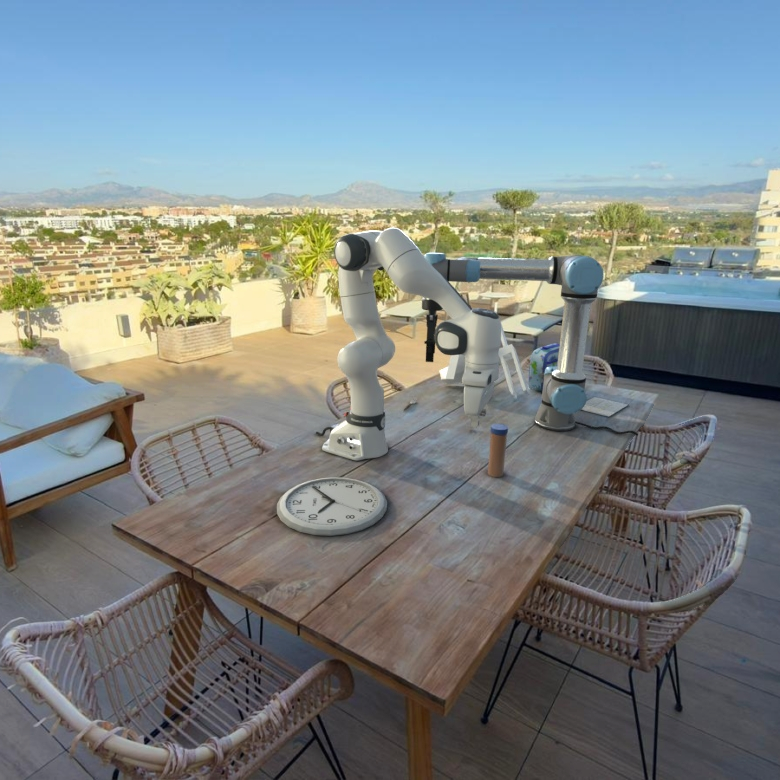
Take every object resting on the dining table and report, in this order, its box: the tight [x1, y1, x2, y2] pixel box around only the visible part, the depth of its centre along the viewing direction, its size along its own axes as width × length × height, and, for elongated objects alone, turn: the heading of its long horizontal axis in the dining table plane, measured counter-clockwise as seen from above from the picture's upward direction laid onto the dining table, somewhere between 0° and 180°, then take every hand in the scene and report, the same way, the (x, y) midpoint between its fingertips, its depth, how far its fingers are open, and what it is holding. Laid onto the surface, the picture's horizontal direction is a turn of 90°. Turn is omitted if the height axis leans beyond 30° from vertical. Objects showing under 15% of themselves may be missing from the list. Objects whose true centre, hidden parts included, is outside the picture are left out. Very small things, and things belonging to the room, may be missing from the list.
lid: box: [490, 423, 509, 435], centre depth 159 cm, size 5×5×2 cm
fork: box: [403, 395, 419, 411], centre depth 222 cm, size 3×16×2 cm, turn 160°
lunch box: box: [528, 343, 560, 392], centre depth 249 cm, size 26×11×21 cm, turn 134°
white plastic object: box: [438, 310, 531, 400], centre depth 245 cm, size 37×45×31 cm
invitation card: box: [580, 396, 629, 418], centre depth 226 cm, size 21×1×15 cm
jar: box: [487, 432, 508, 478], centre depth 161 cm, size 5×5×15 cm
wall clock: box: [276, 476, 388, 537], centre depth 142 cm, size 30×2×30 cm
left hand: (478, 420), depth 141 cm, fingers open, 8 cm apart
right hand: (430, 357), depth 190 cm, fingers open, 13 cm apart
